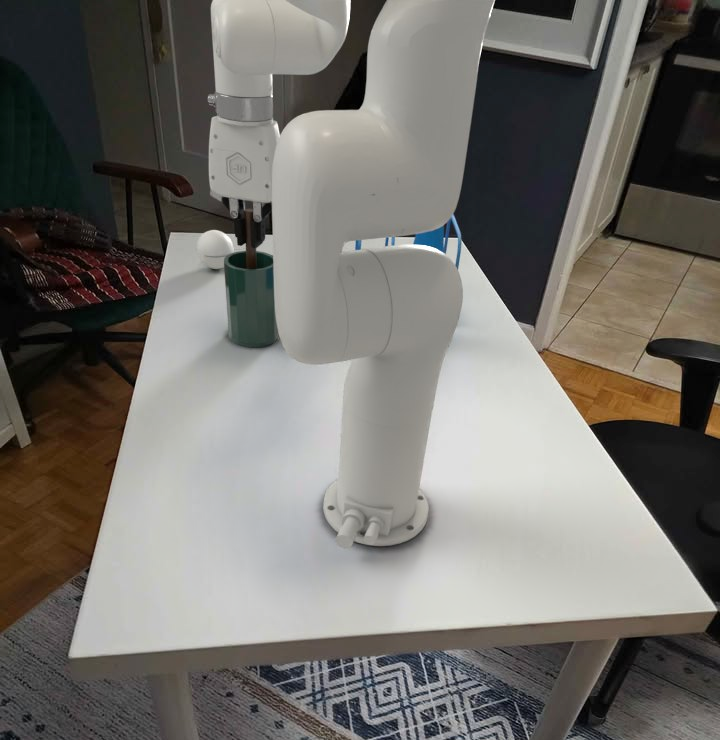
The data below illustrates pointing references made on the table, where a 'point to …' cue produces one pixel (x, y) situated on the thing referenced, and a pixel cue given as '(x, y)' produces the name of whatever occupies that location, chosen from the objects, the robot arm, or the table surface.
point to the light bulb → (214, 248)
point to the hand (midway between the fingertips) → (250, 243)
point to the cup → (250, 300)
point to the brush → (249, 241)
